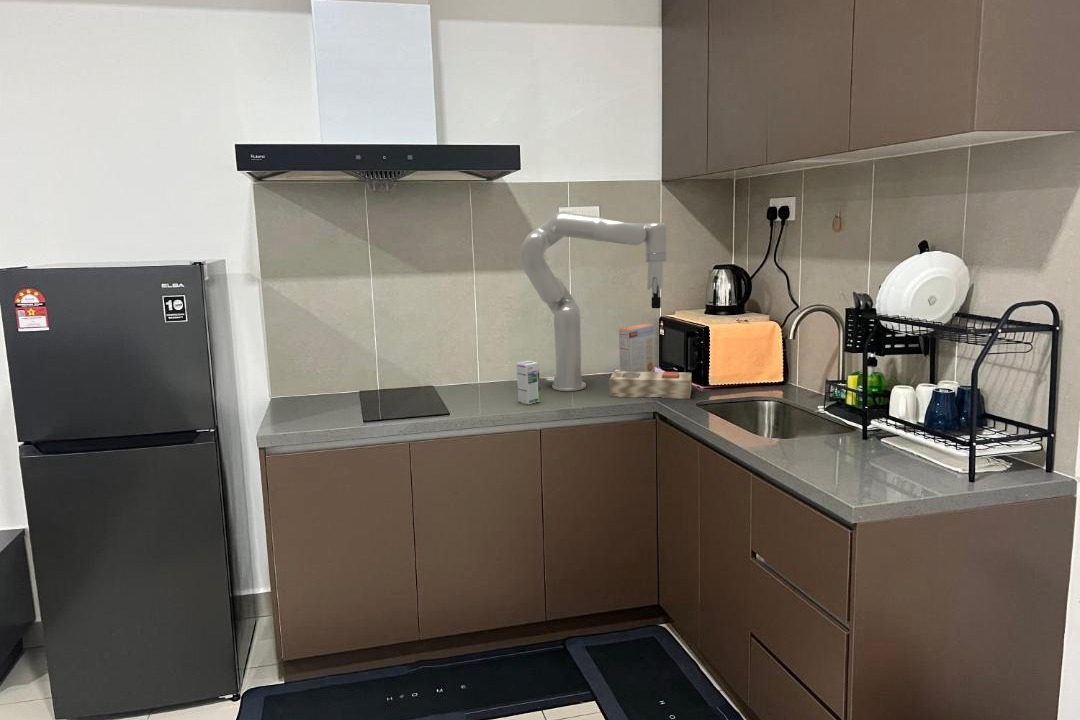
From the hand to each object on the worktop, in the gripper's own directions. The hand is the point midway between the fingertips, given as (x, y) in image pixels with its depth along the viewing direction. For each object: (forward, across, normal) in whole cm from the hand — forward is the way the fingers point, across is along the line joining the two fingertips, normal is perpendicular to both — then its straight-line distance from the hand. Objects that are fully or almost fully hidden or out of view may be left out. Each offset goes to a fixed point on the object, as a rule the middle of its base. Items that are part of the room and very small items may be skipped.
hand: (656, 307), depth 287 cm
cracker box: (+29, -8, -8) cm, 31 cm away
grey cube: (+27, +12, -8) cm, 31 cm away
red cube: (+26, +12, +6) cm, 30 cm away
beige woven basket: (+29, +12, -1) cm, 31 cm away
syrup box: (+29, +28, -42) cm, 58 cm away
